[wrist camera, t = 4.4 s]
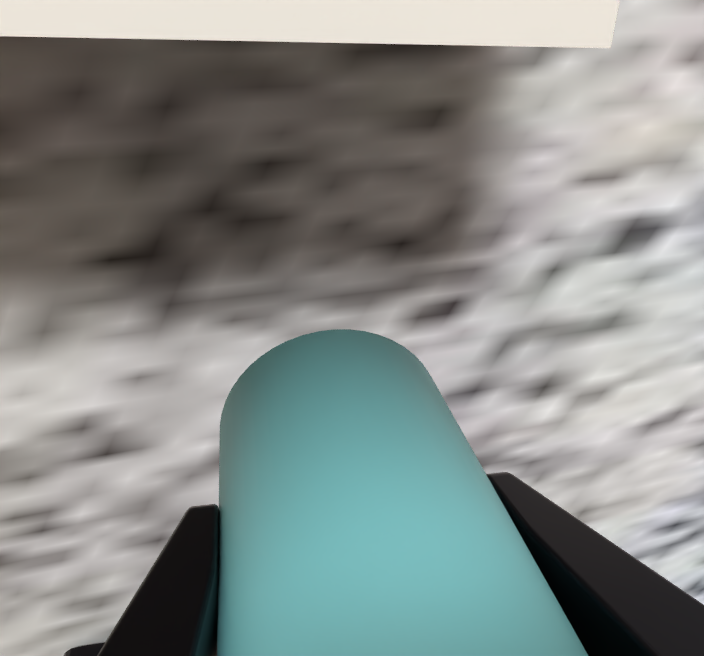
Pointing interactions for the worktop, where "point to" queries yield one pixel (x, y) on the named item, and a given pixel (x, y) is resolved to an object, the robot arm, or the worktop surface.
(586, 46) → the peg box
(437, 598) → the peg
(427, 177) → the worktop surface
